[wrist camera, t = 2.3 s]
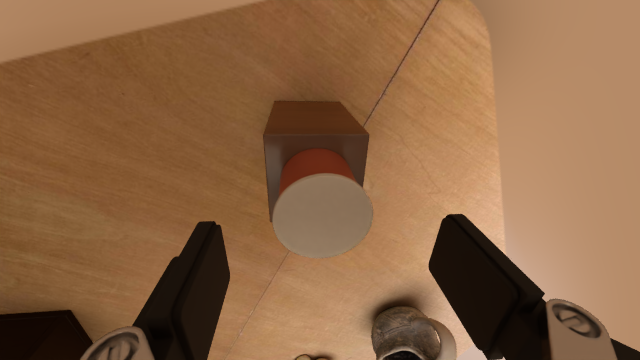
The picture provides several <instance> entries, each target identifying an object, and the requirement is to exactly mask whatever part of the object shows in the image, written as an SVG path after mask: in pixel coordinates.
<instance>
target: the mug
mask: <svg viewBox="0 0 640 360" xmlns="http://www.w3.org/2000/svg"><path fill="white" fill-rule="evenodd" d="M434 329H435V330H436V332H437V334H438V336H439V338H440V343H439V341H438V339H437V335H436V332H435V330H434ZM371 338H372V345H373V349H374V351H375V353H376V360H456V358H457V349H456V342H455V339H454V337H453V335H452V333H451V332H450V331H449V330H448V328H447V327H446V326H445V325H443V324H442V323H440V322H438V321H436V320H434V319H431V318H428V317H427V316H425V315H424V314H423V313H422V312H421V311H419V310H418V309H416V308H413V307H406V306H399V307H392V308H390V309H387V310H385V311H383V312H382V313H381V314H379V316H378V317H377V318H376V320H375V321H374V324H373V327H372V335H371Z"/></svg>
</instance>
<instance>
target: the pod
mask: <svg viewBox="0 0 640 360" xmlns="http://www.w3.org/2000/svg"><path fill="white" fill-rule="evenodd" d="M372 220H373V207H372V203H371V201H370V198H369V196H368V195H367V193H366V192H365V190H364V189H363V188H362V187H361V186H360V185H359V184H358V183H357V182H356V180H355V178H354V176H353V174H352V171H351V169H350V167H349V165H348V164H347V162H346V161H345V160H344V159H343V158H342V157H341V156H340V155H339V154H337V153H335V152H333V151H331V150H328V149H323V148H313V149H307V150H304V151H302V152H300V153H298V154H296V155H294V156H293V157H292V158H291V159H290V160H289V161H288V162H287V163H286V165H285V166H284V168H283V170H282V173H281V178H280V188H279V198H278V200H277V202H276V204H275V206H274V210H273V217H272V223H273V229H274V232H275V234H276V236H277V238H278V239H279V241H280V242H281V243H282V244H283V245H284V246H285V247H286V248H287V249H289V250H290V251H292V252H294V253H296V254H298V255H301V256H304V257H309V258H329V257H334V256H337V255H340V254H343V253H345V252H347V251H349V250H351V249H352V248H354V247H355V246H356V245H358V244H359V243H360V242H361V241H362V240H363V239H364V237H365V236H366V235H367V233H368V231H369V229H370V227H371V224H372Z"/></svg>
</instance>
